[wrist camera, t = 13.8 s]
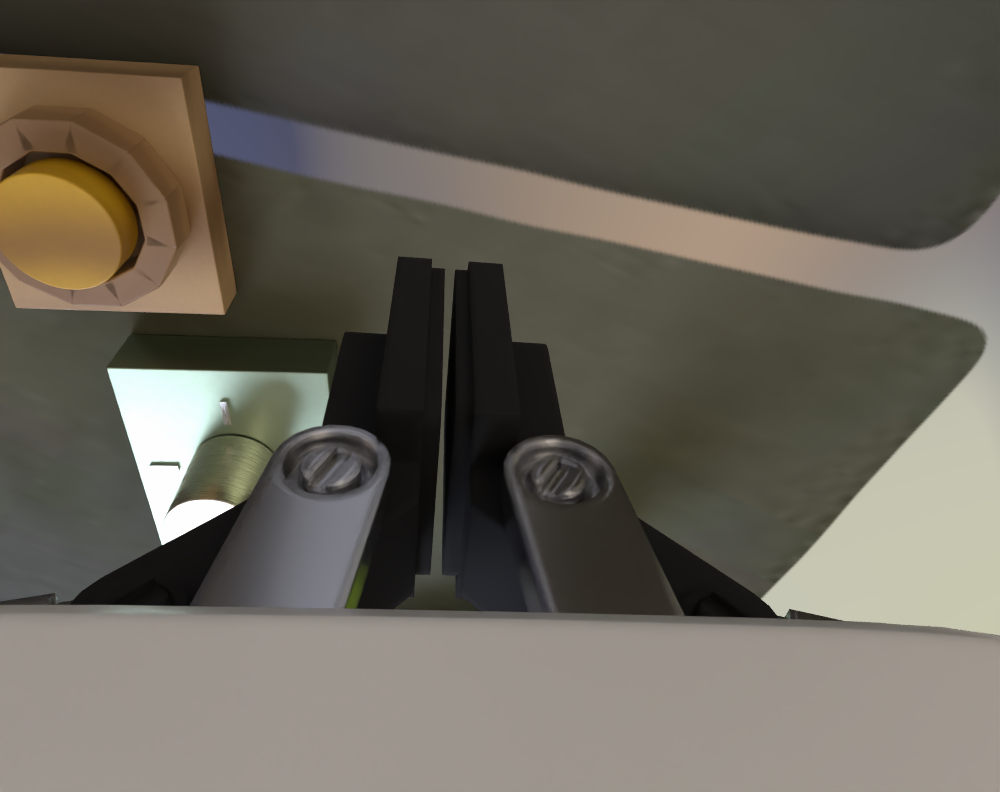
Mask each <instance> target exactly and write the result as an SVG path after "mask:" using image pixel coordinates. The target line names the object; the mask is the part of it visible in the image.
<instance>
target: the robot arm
mask: <svg viewBox="0 0 1000 792" xmlns="http://www.w3.org/2000/svg"><path fill="white" fill-rule="evenodd" d="M444 281H445V269H440V268H432V259H426V258H412V257H398V262H397V269H396V276H395V282H394V289H393V296H392V303H391V310H390V317H389V324H388V331H387V334H374V333H358V332H345V333H344V336H343V339H342V343H341V348H340V352H339V356H338V360H337V364H336V369H335V373H334V377H333V381H332V385H331V390H330V394H329V398H328V402H327V406H326V411H325V415H324V419H323V423H322V426H318V427H312V428H309V429H306V430H303V431H301V432H298V433H295V434H294V435H292V436H291V437H289V438H288V439H286V440H285V441H283V442H282V443H281V444H280V446H279V447H278V448H277V449H276V451H275V452H274V453H273V455H272V456H271V458H270V460H269V462H268V464H267V465H266V467H265V469H264V471H263V473H262V475H261V476H260V478H259V480H258V482H257V484H256V486H255V487H254V489H253V491H252V493H251V495H250V497H249V498H248V499H247V500H245V501H243V502H242V503H240V504H238V505H236V506H234V507H232V508H230V509H229V510H227V511H225V512H223V513H221V514H219V515H217V516H216V517H214V518H212V519H210V520H208V521H206V522H204V523H203V524H201V525H199V526H197V527H195V528H193V529H191V530H189V531H188V532H186V533H184V534H182V535H180V536H178V537H176V538H175V539H173V540H171V541H169V542H167V543H165V544H163V545H162V546H160V547H158V548H156V549H154V550H152V551H150V552H149V553H147V554H145V555H143V556H141V557H139V558H137V559H136V560H134V561H132V562H130V563H128V564H126V565H124V566H123V567H121V568H119V569H117V570H115V571H113V572H111V573H110V574H108V575H106V576H104V577H102V578H101V579H99V580H98V581H96V582H95V583H93V584H92V585H90V586H89V587H87V588H86V589H84V590H83V591H81V593H80V594H79V595H78V596H77V597H76V598H75V599H74V600H73V601H66V602H60V603H59V602H58V600H57V598H56V595H55V593H53V594H47V595H40V596H34V597H27V598H21V599H14V600H8V601H1V602H0V792H1000V636H999V635H993V634H985V633H978V632H971V631H964V630H957V629H951V628H944V627H931V626H914V625H898V624H886V623H871V622H852V621H842V620H837V619H832V618H828V617H823V616H819V615H814V614H810V613H805V612H801V611H796V610H791V609H789V611H788V613H787V615H786V616H785V617H781V616H777V615H776V614H775V613H774V612H773V610H772V609H771V608H770V606H769V605H767V604H766V603H765V602H764V601H762V600H761V599H760V598H759V597H758V596H756V595H755V594H754V593H752V592H751V591H749V590H748V589H746V588H745V587H743V586H742V585H740V584H739V583H737V582H736V581H734V580H733V579H731V578H729V577H728V576H726V575H725V574H723V573H722V572H720V571H719V570H717V569H716V568H714V567H713V566H711V565H710V564H708V563H707V562H705V561H703V560H702V559H700V558H699V557H697V556H696V555H694V554H693V553H691V552H690V551H688V550H687V549H685V548H684V547H682V546H680V545H679V544H677V543H676V542H674V541H673V540H671V539H670V538H668V537H667V536H665V535H664V534H662V533H661V532H659V531H658V530H656V529H654V528H653V527H651V526H650V525H648V524H647V523H645V522H644V521H642V520H641V519H639V518H638V517H637V515H636V513H635V511H634V509H633V507H632V505H631V503H630V501H629V499H628V496H627V494H626V492H625V490H624V488H623V486H622V484H621V482H620V480H619V478H618V476H617V473H616V471H615V469H614V468H613V466H612V465H611V463H610V462H609V460H608V459H607V458H606V456H604V455H603V454H602V453H601V452H599V451H598V450H597V449H596V448H594V447H593V446H591V445H589V444H586V443H584V442H582V441H580V440H578V439H574V438H570V437H566V436H565V434H564V429H563V424H562V419H561V413H560V408H559V403H558V398H557V393H556V388H555V383H554V378H553V373H552V368H551V363H550V358H549V352H548V348H547V345H545V344H538V343H522V342H512V337H511V329H510V321H509V313H508V305H507V297H506V289H505V281H504V272H503V265H502V264H494V263H481V262H469V264H468V270H455V278H454V292H453V305H452V319H451V332H450V346H449V359H448V373H447V387H446V400H445V419H444V474H443V532H442V575H456V598H465V599H466V600H467V601H469V602H470V603H471V604H472V605H473V606H475V607H476V608H477V609H478V610H479V611H447V610H395V609H394V608H395V607H397V606H398V605H399V604H401V603H402V602H403V601H405V600H406V599H407V598H409V597H414V586H415V574H418V575H430V570H431V555H432V541H433V527H434V513H435V498H436V484H437V470H438V456H439V442H440V427H441V407H442V369H443V325H444Z"/></svg>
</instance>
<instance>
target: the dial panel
mask: <svg viewBox="0 0 1000 792" xmlns="http://www.w3.org/2000/svg"><path fill="white" fill-rule="evenodd" d="M337 360H338V356H337V343H336V341H335V340H303V339H269V338H236V337H203V336H169V335H136V334H131V335H130V336H129V337H128V339H127V340H126V341H125V343H124V344H123V345H122V347H121V348H120V350H119V351H118V352H117V354H116V355H115V357H114V358H113V359H112V361H111V362H110V363H109V365H108V366H107V371H108V375H109V378H110V381H111V384H112V387H113V390H114V394H115V397H116V400H117V403H118V406H119V410H120V413H121V416H122V419H123V422H124V426H125V429H126V432H127V435H128V438H129V441H130V445H131V448H132V451H133V454H134V457H135V461H136V464H137V467H138V470H139V473H140V477H141V480H142V483H143V486H144V489H145V492H146V496H147V499H148V502H149V505H150V508H151V512H152V515H153V518H154V521H155V524H156V528H157V531H158V534H159V537H160V540H161V543H162V545H163V544H165V543H167V542H169V541H168V540H167V538H166V536H165V533H164V529H163V522H164V518H165V516H166V514H167V512H168V509H169V507H170V505H171V503H172V501H173V499H174V496H175V494H176V492H177V490H178V488H179V485H180V483H181V481H182V479H183V477H184V475H185V472H186V470H187V468H188V466H189V464H190V461H191V459H192V457H193V455H194V453H195V451H196V449H197V448H198V447H199V446H200V445H201V444H203V443H204V442H205V441H207V440H209V439H212V438H215V437H219V436H227V435H233V436H241V437H245V438H249V439H252V440H254V441H257V442H259V443H261V444H262V445H264V446H265V447H266V448H268V449H269V450H270V451H271V452H272V453H274V452H275V451H276V449H277V448H278V447H279V446H280V444H281V443H282V442H283V441H285V440H286V439H288V438H289V437H291V436H292V435H294V434H295V433H298V432H301V431H303V430H306V429H309V428H312V427H318V426H322V423H323V419H324V415H325V411H326V406H327V402H328V398H329V394H330V390H331V385H332V381H333V377H334V373H335V369H336V364H337Z"/></svg>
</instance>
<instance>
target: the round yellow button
mask: <svg viewBox="0 0 1000 792" xmlns="http://www.w3.org/2000/svg"><path fill="white" fill-rule="evenodd" d="M137 238H138V226H137V220H136V217H135V213H134V211H133V209H132V206H131V204H130V203H129V201H128V199H127V198H126V196H125V195H124V194H123V192H122V191H121V190H120V189H119V188H118V187H117V186H116V185H115V184H114V183H113V182H112V181H111V180H110V179H109V178H107V177H106V176H105V175H103V174H102V173H101V172H99V171H97V170H95V169H94V168H92V167H90V166H88V165H85V164H83V163H80V162H77V161H74V160H70V159H64V158H44V159H39V160H36V161H33V162H31V163H29V164H27V165H25V166H24V167H22V168H21V169H19V170H18V171H16V172H15V173H13V174H11V175H10V176H8V177H7V178H5V179H4V180H3V181H1V182H0V250H1V251H2V253H3V254H4V255H5V256H6V257H7V258H8V260H9V261H10V262H12V263H13V264H14V265H15V266H16V267H17V268H19V269H20V270H21V271H23V272H24V273H25V274H27V275H29V276H30V277H32V278H34V279H36V280H38V281H40V282H42V283H45V284H47V285H50V286H54V287H57V288H62V289H70V290H82V289H89V288H93V287H96V286H99V285H101V284H103V283H104V282H106V281H108V280H109V279H110V278H111V277H112V276H113V275H114V274H115V273H116V272H117V271H118V269H119V268H120V267H121V266H122V265H123V264H124V263H125V261H126V260H127V259H128V258H129V257H130V255H131V254H132V253H133V251H134V249H135V247H136V243H137Z"/></svg>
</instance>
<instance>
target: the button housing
mask: <svg viewBox="0 0 1000 792" xmlns="http://www.w3.org/2000/svg"><path fill="white" fill-rule="evenodd" d="M44 158H64V159H70V160H74V161H77V162H80V163H83V164H85V165H88V166H90V167H92V168H94V169H95V170H97V171H99V172H101V173H102V174H103V175H105V176H106V177H107V178H109V179H110V180H111V181H112V182H113V183H114V184H115V185H116V186H117V187H118V188H119V189H120V190H121V191H122V192H123V194H124V195H125V196H126V198H127V199H128V201H129V203H130V204H131V206H132V209H133V211H134V213H135V217H136V220H137V226H138V238H137V243H136V247H135V249H134V251H133V253H132V254H131V255H130V257H129V258H128V259H127V260H126V261H125V263H124V264H123V265H122V266H121V267H120V268H119V269H118V271H117V272H116V273H115V274H114V275H113V276H112V277H111V278H110V279H109V280H108V281H106V282H104V283H103V284H101V285H99V286H96V287H93V288H89V289H82V290H70V289H62V288H57V287H54V286H50V285H47V284H45V283H42V282H40V281H38V280H36V279H34V278H32V277H30V276H29V275H27V274H25V273H24V272H23V271H21V270H20V269H19V268H17V267H16V266H15V265H14V264H13V263H12V262H10V261H9V260H8V258H7V257H6V256H5V255H4V254H3V253H2V251H1V250H0V267H1V270H2V272H3V275H4V278H5V280H6V283H7V285H8V288H9V291H10V293H11V296H12V299H13V301H14V304H15V306H16V308H36V309H66V310H97V311H128V312H158V313H189V314H220V315H224V314H225V313H226V311H227V310H228V308H229V306H230V304H231V302H232V300H233V298H234V297H235V295H236V293H237V290H236V284H235V278H234V272H233V266H232V261H231V255H230V249H229V243H228V237H227V231H226V225H225V219H224V213H223V208H222V202H221V196H220V190H219V184H218V178H217V172H216V166H215V160H214V155H213V149H212V144H211V137H210V131H209V126H208V119H207V113H206V107H205V101H204V96H203V90H202V84H201V78H200V72H199V67H198V66H194V65H178V64H162V63H145V62H129V61H113V60H96V59H80V58H64V57H47V56H31V55H15V54H0V182H1V181H3V180H4V179H5V178H7V177H8V176H10V175H11V174H13V173H15V172H16V171H18V170H19V169H21V168H22V167H24V166H25V165H27V164H29V163H31V162H33V161H36V160H39V159H44Z"/></svg>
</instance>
